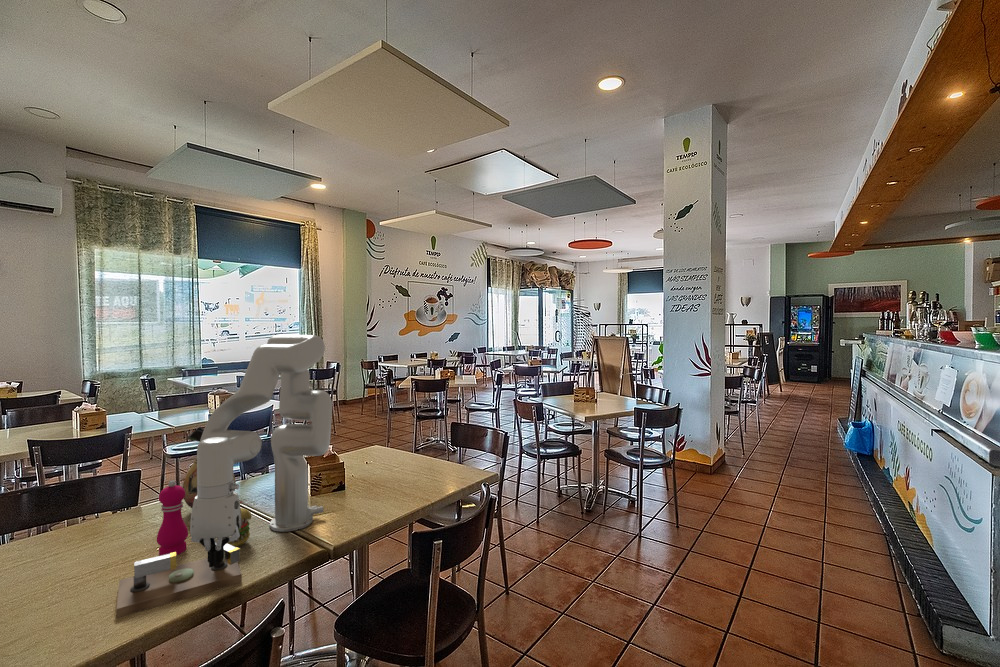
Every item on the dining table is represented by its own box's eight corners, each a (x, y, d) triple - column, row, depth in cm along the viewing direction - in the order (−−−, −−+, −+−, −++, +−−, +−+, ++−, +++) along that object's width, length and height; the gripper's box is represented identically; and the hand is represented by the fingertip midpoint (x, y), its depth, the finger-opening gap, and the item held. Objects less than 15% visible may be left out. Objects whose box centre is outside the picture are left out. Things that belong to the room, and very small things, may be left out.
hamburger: (216, 550, 132) (216, 508, 132) (227, 538, 139) (227, 498, 139) (246, 548, 133) (246, 506, 133) (255, 537, 140) (255, 497, 140)
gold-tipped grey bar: (211, 565, 119) (211, 544, 119) (221, 561, 121) (221, 540, 121) (230, 574, 115) (230, 552, 115) (240, 570, 117) (240, 548, 117)
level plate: (233, 558, 128) (233, 547, 128) (241, 582, 117) (241, 570, 117) (119, 588, 114) (119, 575, 113) (116, 618, 102) (116, 604, 102)
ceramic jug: (176, 522, 150) (175, 428, 149) (188, 504, 164) (187, 418, 163) (237, 514, 156) (236, 424, 155) (244, 498, 170) (243, 415, 170)
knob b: (133, 589, 109) (133, 566, 108) (133, 585, 111) (133, 561, 110) (176, 578, 114) (176, 555, 113) (176, 574, 115) (175, 551, 115)
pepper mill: (172, 559, 127) (171, 486, 126) (150, 556, 129) (149, 484, 128) (194, 546, 134) (193, 477, 134) (173, 544, 136) (172, 475, 135)
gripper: (254, 483, 119) (254, 555, 119) (191, 485, 117) (191, 558, 118) (241, 494, 112) (241, 571, 112) (173, 496, 110) (174, 574, 110)
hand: (215, 564), depth 115 cm, fingers closed
